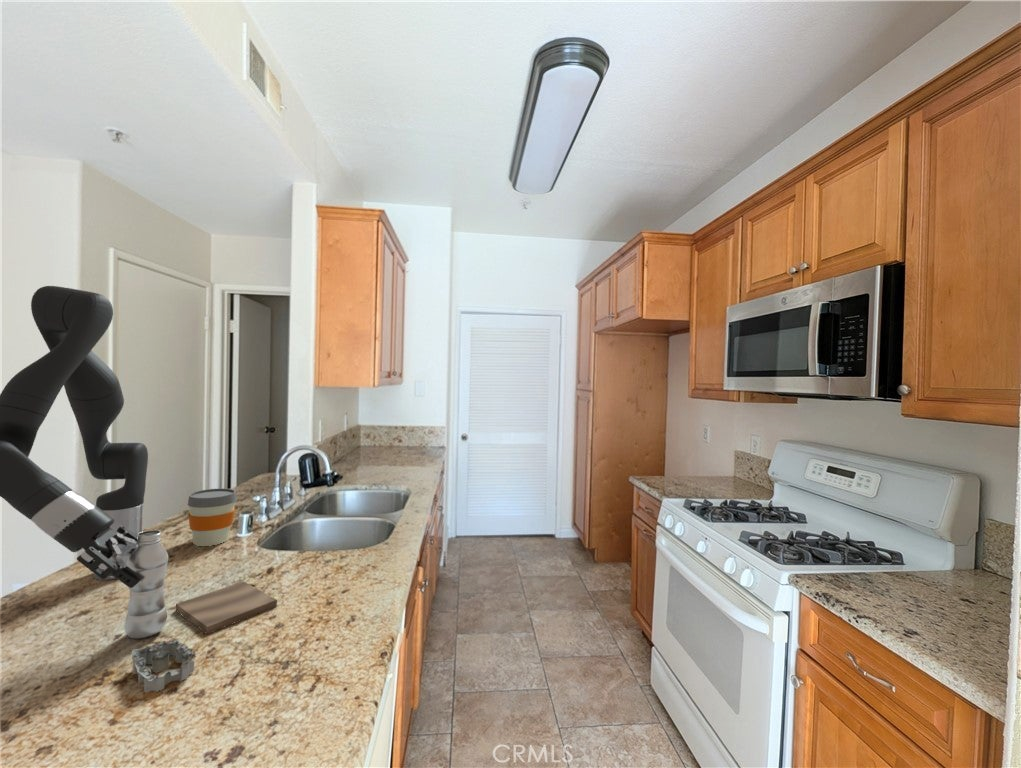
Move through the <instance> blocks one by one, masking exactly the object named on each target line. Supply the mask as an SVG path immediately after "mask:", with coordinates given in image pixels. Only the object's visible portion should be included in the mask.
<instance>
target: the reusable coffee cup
mask: <svg viewBox="0 0 1021 768" xmlns="http://www.w3.org/2000/svg"><path fill="white" fill-rule="evenodd" d="M187 500H188V501H187V506H188V510H189V512H188V523H189V529H190V530H191V533H192V534H191V535H192V542H193V545H194V544H195V545H197V546H196V547H198V546H209V547H213V546H212V545H215V546H218V545H217V544H219V545H221V544H220V543H222V544H224V543H223V542H225V541H227V540H229V537H230V533H231V532H230V531H231V526H232V525H233V523H234V518H235V512H236V508H235V504H236V501H237V492H236V490H235V489H234V488H233V489H232V488H222V487H221V488H220V487H219V488H209V489H202V490H198V491H194V492H191V493H190V494H189V495H188V499H187ZM227 542H228V541H227ZM225 543H226V542H225ZM195 545H194V546H195Z"/></svg>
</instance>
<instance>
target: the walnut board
mask: <svg viewBox="0 0 1021 768" xmlns="http://www.w3.org/2000/svg"><path fill="white" fill-rule="evenodd" d="M277 603H278V600H277V598H274V597H273V596H271V595H269V594H267V593H266V592H264V591H262V590H260V589H259V588H257V587H256V586H255V587H254V586H253V585H251V584H249V583H247V582H245V581H240V582H238V583H235V584H232V585H231V584H230V585H229V586H226V587H222V588H220V589H217V590H214V591H210V592H207V593H204V594H201V595H198V596H196V597H192V598H189V599H187V600H184V601H181V602H177V603H175V612H177V611H178V612H179V613H180V615H181V614H182V615H183V616H184V617H183V616H182V615H181V616H182V617H183V618H185V617H186V618H187V619H189V620H190V621H192V622H193V623H194V624H196V625H197V626H198V627H200V628H201V629H202V630H203V631H204V632H203V631H202V630H201V629H200V630H201V631H202V632H203V633H205V632H206V633H209V634H211V633H210V632H212V631H214V632H216V631H215V630H217V629H219V628H222V627H224V626H227V625H229V624H232V623H234V622H237V621H239V620H242V621H244V620H246V619H248V618H247V617H249V618H251V617H254V616H257V615H259V614H261V613H264V612H266V611H268V610H271V609H274V608H276V607H277V606H278V604H277ZM178 612H177V613H178ZM179 613H178V614H179ZM258 613H259V614H258ZM253 615H254V616H253ZM186 618H185V619H186ZM245 618H246V619H245ZM187 619H186V620H187ZM243 619H244V620H243ZM189 620H188V621H189ZM190 621H189V622H190ZM239 622H240V621H239ZM193 623H192V624H193ZM237 623H238V622H237ZM194 624H193V625H194ZM234 624H235V623H234ZM232 625H233V624H232ZM197 626H196V627H197ZM229 626H230V625H229ZM198 627H197V628H198ZM227 627H228V626H227ZM224 628H225V627H224ZM222 629H223V628H222ZM219 630H220V629H219ZM217 631H218V630H217ZM206 633H205V634H206ZM212 633H213V632H212Z"/></svg>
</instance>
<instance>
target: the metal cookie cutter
mask: <svg viewBox="0 0 1021 768" xmlns="http://www.w3.org/2000/svg"><path fill="white" fill-rule="evenodd" d="M170 656H175V663H177V664H181V665H180V668H175V669H171V670H167V669H168V668H169V666H170V664H169V663H170ZM196 657H197V656H196V652H195V650H194V649H192V648H191V647H189V646H188V645H187V644H184V643H180V640H179V639H177V638H173V639H172V641H169V642H166V640H163V641H162V642H160V643H155V644H152V645H146V646H145V647H144V648H134V649H131V659H132V674H133V675H136V674H137V682H138V683H139V684H142V683H143V692H145V693H148V692H151V691H153V692H160V691H162V689H163V690H164V689H165V687H166V685H168V684H170V683H171V681H172V682H175V681H179V680H180V682H183V681H182V680H184V679H186V680H188V679H189V677H188V676H190V675H191V674H192V673H191V672H193V673H194V668H195V661H194V659H195V658H196ZM181 662H182V663H181ZM146 665H152V666H151V667H152V668H151V667H150V666H146ZM165 670H167V672H164V673H162V674H161V675H156V674H152V672H154V673H159V672H163V671H165ZM190 673H191V674H190ZM189 674H190V675H189ZM187 678H188V679H187ZM184 681H185V680H184ZM169 682H170V683H169ZM167 683H168V684H167ZM159 690H160V691H159Z"/></svg>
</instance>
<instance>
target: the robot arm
mask: <svg viewBox="0 0 1021 768" xmlns="http://www.w3.org/2000/svg"><path fill="white" fill-rule="evenodd" d="M30 301H31V302H30V308H31V309H30V310H31V315H32V318H33V320H34V322H35V324H36V327H37V329H38V330H39V332H40V335H41V337H42V338H43V340H44V342H45V345H46V347H48V350H49V351H48V352H47V353H46V354H44V355H43V356H41V357H39V358H38V359H37V360H34V362H32V363H30V364H29V365H27V366H26V367H25V368H22V369H21V370H20V371H18V372H17V373H16V374H14V376H13V377H12V378H10V379H9V381H8V382H7V383H6V385H5V386H4V388H3V389H2V390H1V392H0V498H2V499H3V500H4V501H6V502H7V503H8V504H9V505H10V506H11V507H12V508H14V509H15V511H18V512H19V513H20V514H21V515H23V516H24V517H26V518H27V519H29V520H30V521H31V522H32V523H34V524H35V526H37V527H38V529H40V530H41V531H42V532H44V534H46V535H48V536H49V537H51V538H52V539H53V540H54V541H56V542H57V543H59V544H60V545H61V546H63V547H64V548H66V549H67V550H68V551H70V552H71V553H77V552H80V551H81V550H82V549H83V550H84V551H83V552H82V553H81V554H80V555H78V556H77V557H76V560H77V561H78V562H79V563H81V564H82V566H84V567H85V568H87V569H88V570H89V571H90V572H92V574H93V579H95V580H98V581H99V580H101V581H102V580H104V581H106V580H107V581H109V580H114V579H117V580H118V581H120V582H122V584H124V585H125V586H126V587H128V589H129V588H132V587H134V586H135V585H136V584H137V583H139V582H140V581H141V580H142V577H141V576H140V575H139V574H137V573H136V572H134V571H133V570H132V569H130V568H129V567H128V566H127V561H128V558H129V557H130V555H131V554H132V553H133V551H134V550H135V549H136V548H137V547H138V545H137V544H136V541H137V535H138V534H139V533H141V532H144V531H143V527H144V507H145V505H144V504H145V503H144V501H145V494H146V481H147V473H148V472H147V471H148V464H149V463H148V462H149V461H148V460H149V451H148V448H147V446H146V444H144V443H141V442H110V441H109V440H108V436H107V432H108V430H109V429H110V427H111V425H112V423H114V421H115V420H116V419H117V417H118V416H119V414H120V413H121V411H122V410H123V408H124V405H125V404H124V403H125V398H124V394H123V391H122V387H121V383H120V381H119V378H118V376H117V375H116V373H115V372H114V371H113V369H111V368H110V366H108V365H107V364H106V362H104V361H103V360H102V359H101V358H100V357H99V356H98V355H97V354H95V352H93V348H94V347H96V345H97V344H98V342H99V341H100V340H101V339H102V338H103V336H104V335H105V334H106V331H107V330H108V329H109V327H110V326H111V323H112V320H113V318H114V317H113V315H114V308H113V306H112V303H111V301H110V300H109V298H107V297H106V296H105V295H103V294H101V293H96V292H92V291H87V290H82V289H76V288H70V287H65V286H58V285H45V286H42V287H39V288H38V289H37V290H36V291H35V292H34V293H33V295H32V298H31V300H30ZM63 387H64V390H65V394H66V396H67V400H68V402H69V405H70V408H71V410H72V413H73V415H74V417H75V420H76V423H77V425H78V429H79V433H80V436H81V438H82V444H83V449H84V450H83V451H84V455H85V460H86V464H87V467H88V471H89V473H90V475H91V476H92V477H93V478H94V479H96V480H102V481H103V480H104V481H106V480H109V481H110V480H124V484H123V486H121V487H120V488H118V489H115V490H112V491H109V492H105V493H103V494H101V495H99V496H98V497H97V498H96V500H95V501H96V502H95V504H94V502H92V501H91V500H89V499H88V498H86V497H85V496H84V495H82V494H80V493H78V492H76V491H75V490H73V489H72V488H71V487H69V486H68V485H67V484H65V482H63V481H62V480H60V479H58V478H57V477H56V476H54V475H52V474H50V473H48V472H47V471H45V470H43V469H42V468H41V467H40V466H39V465H37V464H36V463H35V462H34V461H33V460H32V459H31V458H29V456H30V454H31V451H32V448H33V446H34V443H35V440H36V438H37V434H38V431H39V429H40V427H41V426H42V425H43V423H44V421H45V419H46V417H47V416H48V413H49V412H50V410H51V408H52V406H53V404H54V403H55V401H56V399H57V397H58V395H59V394H60V392H61V390H62V389H63Z"/></svg>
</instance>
